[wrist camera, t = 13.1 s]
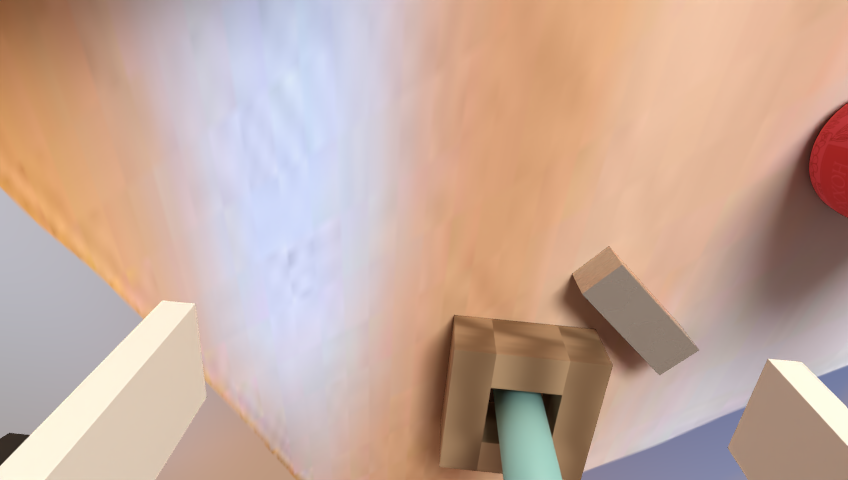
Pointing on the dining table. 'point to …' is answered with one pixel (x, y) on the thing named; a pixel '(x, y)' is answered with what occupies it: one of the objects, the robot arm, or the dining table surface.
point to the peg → (524, 436)
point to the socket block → (521, 388)
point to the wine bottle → (832, 162)
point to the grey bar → (633, 311)
